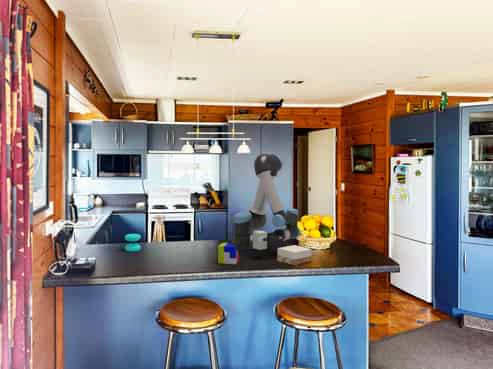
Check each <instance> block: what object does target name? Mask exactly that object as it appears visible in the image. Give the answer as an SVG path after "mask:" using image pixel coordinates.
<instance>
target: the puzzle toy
mask: <svg viewBox="0 0 493 369" xmlns="http://www.w3.org/2000/svg"><path fill="white" fill-rule="evenodd" d="M217 250H218V252H217V254H218V255H217V256H218V257H217V259H218V260H217V264H224V265H226V264H227V265H236V264H237V263H238V262H239V261H240V250H239V243H232V242H222V243H220V244H219V245H218V246H217Z"/></svg>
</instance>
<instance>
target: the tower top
mask: <svg viewBox="0 0 493 369" xmlns="http://www.w3.org/2000/svg"><path fill="white" fill-rule="evenodd" d="M312 250H313V249H312V248H308V247H304V246H299V245H296V244H293V245H287V246H283V247H278V248H277V255H280V256H283V257H287V258H291V259H300V258H304V257H309V256H311V257H312V252H313V251H312Z"/></svg>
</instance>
